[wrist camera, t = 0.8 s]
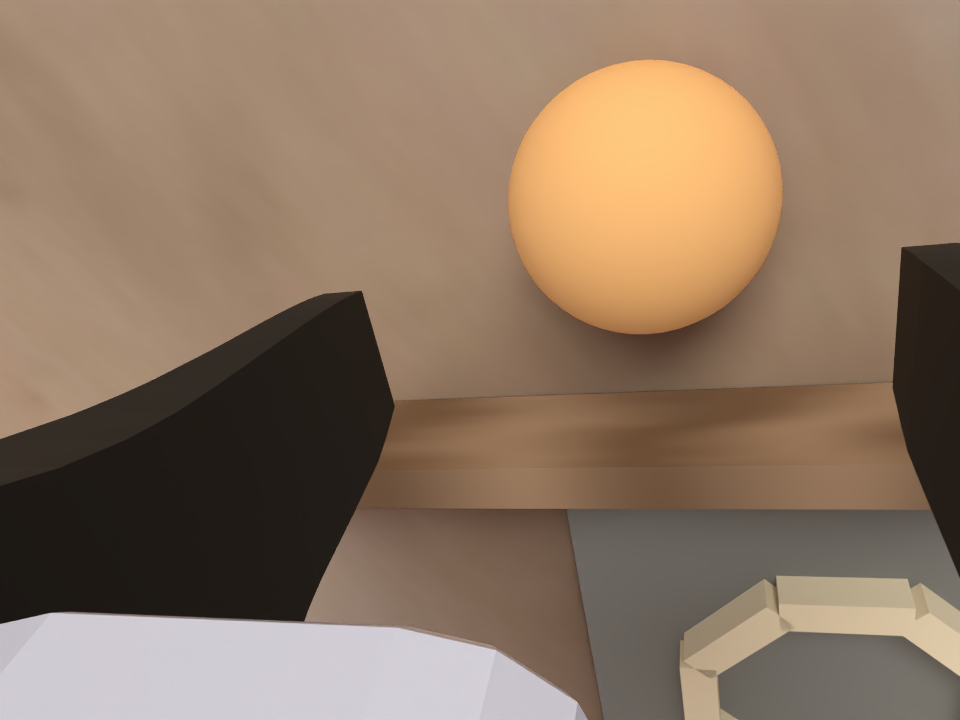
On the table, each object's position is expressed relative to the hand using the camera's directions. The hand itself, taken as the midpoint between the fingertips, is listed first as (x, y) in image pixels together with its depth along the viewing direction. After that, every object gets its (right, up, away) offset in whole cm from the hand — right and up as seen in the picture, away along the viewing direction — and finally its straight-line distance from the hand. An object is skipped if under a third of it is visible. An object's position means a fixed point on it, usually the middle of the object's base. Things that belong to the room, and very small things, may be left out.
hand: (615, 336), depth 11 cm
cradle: (+9, -10, +13) cm, 18 cm away
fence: (+3, -2, +9) cm, 10 cm away
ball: (+1, +3, +4) cm, 5 cm away
